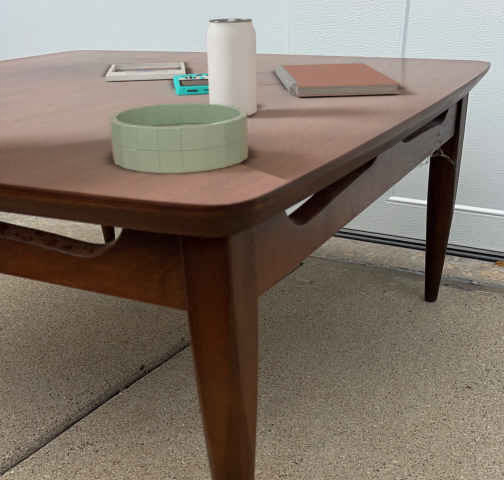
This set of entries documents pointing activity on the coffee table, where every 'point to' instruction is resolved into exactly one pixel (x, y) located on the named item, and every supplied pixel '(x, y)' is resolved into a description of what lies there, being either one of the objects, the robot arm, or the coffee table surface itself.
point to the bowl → (179, 137)
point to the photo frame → (144, 74)
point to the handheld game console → (191, 84)
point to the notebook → (335, 80)
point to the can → (232, 63)
